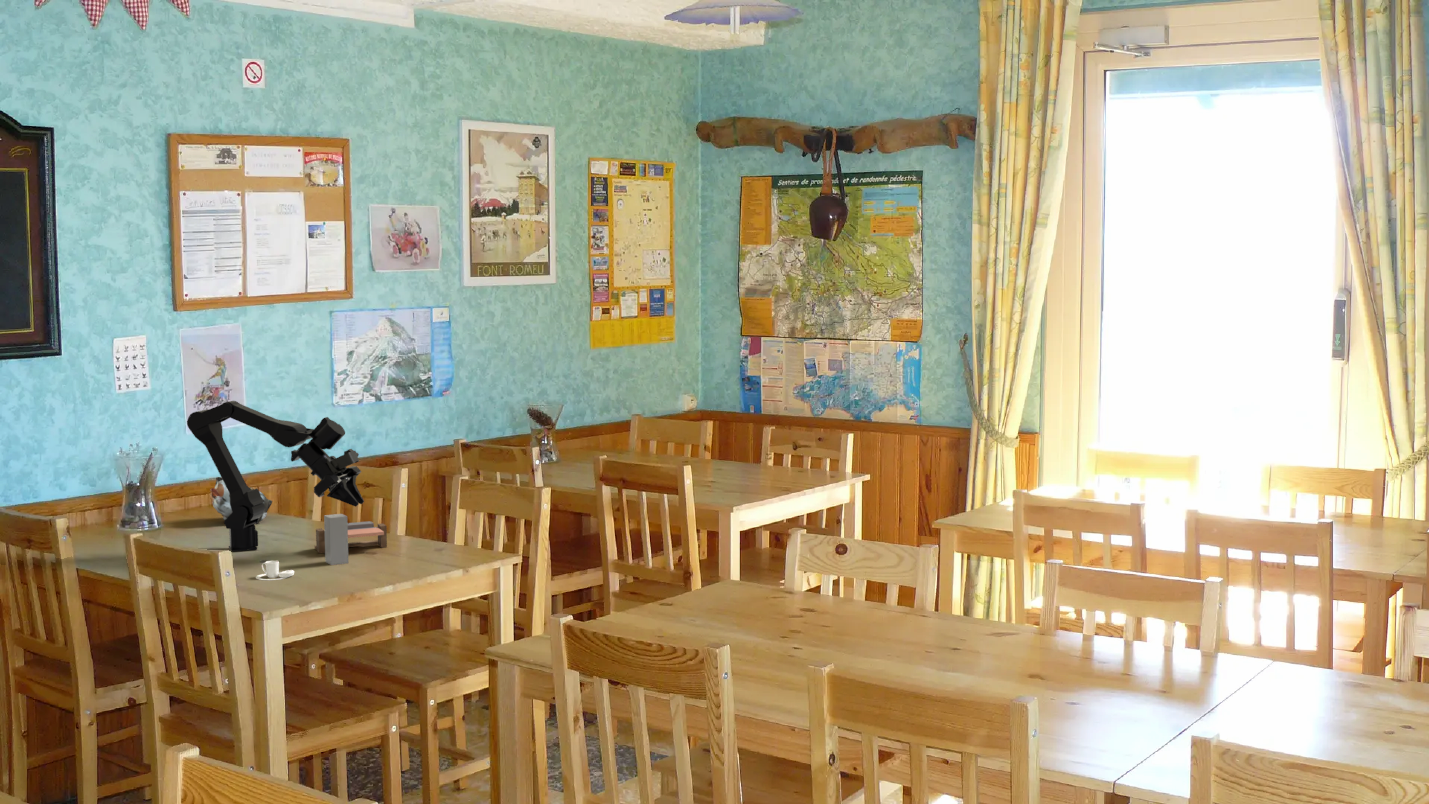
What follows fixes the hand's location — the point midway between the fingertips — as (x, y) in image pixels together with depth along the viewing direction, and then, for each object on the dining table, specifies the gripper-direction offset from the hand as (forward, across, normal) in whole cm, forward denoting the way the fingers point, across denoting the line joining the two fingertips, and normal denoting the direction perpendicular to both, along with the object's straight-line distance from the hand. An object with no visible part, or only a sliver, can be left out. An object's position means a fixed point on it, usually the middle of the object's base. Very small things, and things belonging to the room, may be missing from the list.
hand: (360, 504), depth 351 cm
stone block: (+8, -12, +10) cm, 18 cm away
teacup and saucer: (+4, -32, +16) cm, 36 cm away
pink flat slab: (+4, +3, +9) cm, 11 cm away
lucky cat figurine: (-28, +38, +46) cm, 66 cm away
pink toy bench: (+5, +6, +13) cm, 15 cm away
